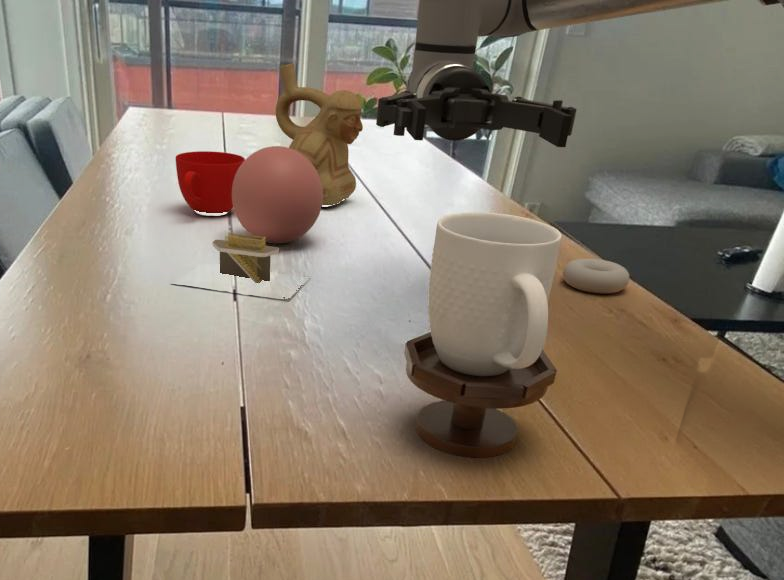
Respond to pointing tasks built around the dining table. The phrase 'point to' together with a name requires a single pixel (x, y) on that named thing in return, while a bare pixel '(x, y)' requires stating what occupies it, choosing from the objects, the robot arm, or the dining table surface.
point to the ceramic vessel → (323, 133)
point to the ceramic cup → (207, 179)
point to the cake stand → (471, 401)
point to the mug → (490, 291)
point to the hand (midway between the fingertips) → (493, 128)
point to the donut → (596, 275)
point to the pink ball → (277, 194)
